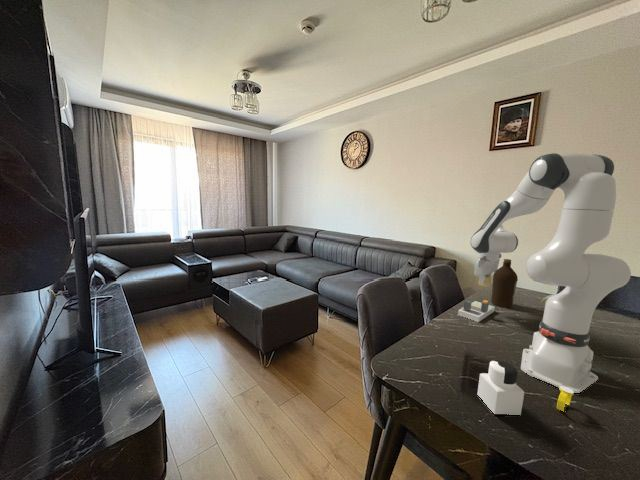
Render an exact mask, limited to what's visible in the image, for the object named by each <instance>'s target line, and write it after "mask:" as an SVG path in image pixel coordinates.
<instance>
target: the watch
mask: <svg viewBox="0 0 640 480" xmlns="http://www.w3.org/2000/svg"><path fill="white" fill-rule="evenodd" d="M559 391H560V393H559V396H558V399H557V403H556V409H557V410H558V409H559V410H558V411H560V410H561V411H563V412H564V407H565V404H567V405H569V406H570V404H571V400H572V396H574V395H575V394H574V391H573V390H571V389H570V388H568V387H565V386H560V387H559ZM561 411H560V412H561ZM563 412H562V413H563Z"/></svg>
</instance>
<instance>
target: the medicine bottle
mask: <svg viewBox="0 0 640 480" xmlns="http://www.w3.org/2000/svg"><path fill="white" fill-rule="evenodd" d="M518 374H519V373H518V370H517V369H516V367H515V366H514V365H512V364H510V363H509V362H506V361H503V360H499V359H494V360H493V359H492V360H491V361H490V362H489V365H488V373H485V372H482V373H479V376H478V377H479V378H478V379H479V380H478V386H477V393H476V394H477V395H478V396H479V397H480V398H481V399H482V400H483V402H484V403H485V404H486V405H487V407H488V408H489V409H490V410H491V411H492V412H493V413H494V414H507V415H508V414H509V415H520V416H521V415H522V409H523V403H524V396H525V391H524V390H523V389H522V388H521V387H520V386H519V385H518V384H517V379H518ZM477 395H476V396H477ZM478 396H477V397H478ZM479 397H478V398H479ZM480 398H479V399H480ZM481 399H480V400H481ZM483 402H482V403H483ZM484 403H483V404H484ZM485 404H484V405H485ZM486 405H485V406H486ZM487 407H486V408H487ZM488 408H487V409H488ZM489 409H488V410H489ZM490 410H489V411H490ZM491 411H490V412H491ZM492 412H491V413H492Z"/></svg>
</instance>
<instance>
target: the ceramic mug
mask: <svg viewBox="0 0 640 480" xmlns="http://www.w3.org/2000/svg"><path fill="white" fill-rule="evenodd" d="M553 295H554V294H550V295H547V296H545V297H543V298H542V299H541V300H540V306H541V307H542V309H543V310H544V309H545V303H546V301H547V299H548V298H549V297H551V296H553Z"/></svg>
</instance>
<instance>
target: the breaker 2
mask: <svg viewBox="0 0 640 480" xmlns="http://www.w3.org/2000/svg"><path fill="white" fill-rule="evenodd" d="M489 301H490V300H487V299H484V300H482V302H481V303H482V305H481V311H484V312H486V311H488V306H489V305H490V303H489Z"/></svg>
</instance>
